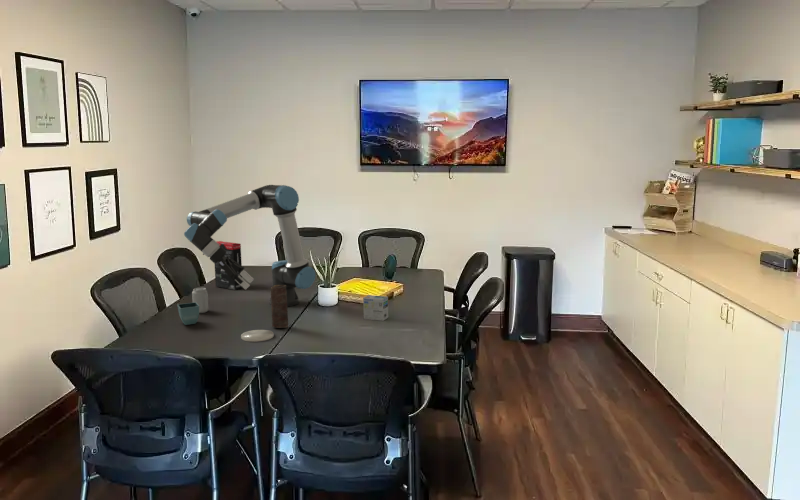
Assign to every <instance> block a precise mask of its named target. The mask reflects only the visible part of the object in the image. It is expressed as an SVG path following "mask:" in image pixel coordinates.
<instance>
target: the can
mask: <svg viewBox="0 0 800 500" xmlns="http://www.w3.org/2000/svg"><path fill="white" fill-rule="evenodd" d="M208 292H209V291H208V290H207V288H206V287H195V288H193V290H192V292H191V296H192V298H191V300H192V303H193V302H196V303H197V304H198V305H199V314H204V313H207V312H208V311H209V296H208Z"/></svg>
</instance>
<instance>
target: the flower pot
mask: <svg viewBox="0 0 800 500" xmlns="http://www.w3.org/2000/svg"><path fill="white" fill-rule="evenodd" d="M176 306H177V312H178V315H179V318H180V320H181V321H182V323H183V324H184V325H185V326H187V325H195V324H197V322H198V320H199V317H200V313H199V305H198V304H197V303H196V302H193V301H192V302H186V303H179V304H178V303H177V304H176Z"/></svg>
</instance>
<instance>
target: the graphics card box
mask: <svg viewBox="0 0 800 500" xmlns="http://www.w3.org/2000/svg"><path fill="white" fill-rule="evenodd" d="M216 242H217V243H218V244H219V245H220V246H219V247H222V248H223V249H224V250H225V251H226V252H227V253H226V254H225V255H224V256H229V257H230V258H231V259H232V260H234V261H235V262H237V263H238V264H239V265H241V266H242V248H241V247H242V245H241V243H238V242H237V243H236V242H229V241H222V240H219V241H216ZM219 263H220V262H219V261H218V262H217V263H216V264H215V263H213V264H214V276H215V277H214V279H215V287H216V288H217V287H218V288H222V289H226V290H227V289H228V290H233V291H235V290H236V291H237V290H240V289H244V288H243V287H242V286H241V285H240V284H239V283H237V282H236V281H235V280H234V281H232V279H231V278H230V277H229V275H228V274H227V273H226V272H225V271H224V270H223V268H222V267H221V266H220V265H219ZM242 267H243V266H242ZM235 272H236V273H237V275H238V276H240V277H242V276H241V275H240V273H239V272H237V271H235ZM242 278H243V277H242Z"/></svg>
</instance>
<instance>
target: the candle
mask: <svg viewBox="0 0 800 500" xmlns="http://www.w3.org/2000/svg"><path fill="white" fill-rule="evenodd" d="M270 298H271V305H270V306H271V326H272V327H273V328H277V329H283V328H289V316H288V315H289V313H288V311H289V310H288V306H287V291H286V285H274V286H273V285H272V286H271V287H270Z"/></svg>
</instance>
